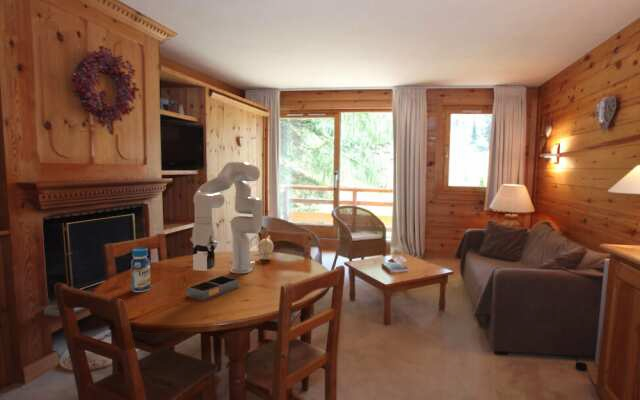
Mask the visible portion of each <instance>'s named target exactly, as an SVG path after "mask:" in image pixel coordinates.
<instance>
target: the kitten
mask: <svg viewBox="0 0 640 400" xmlns="http://www.w3.org/2000/svg"><path fill="white" fill-rule="evenodd" d="M274 247H275V246H274V243H273V241H272V240H271V235H268V236H267V237H265V238H263V239H260V241H259V242H258V244H257V249H258V252H259V253H260V260H261V259H262V260H263V261H267V260H271V258H272V252H273V251H274Z"/></svg>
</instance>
